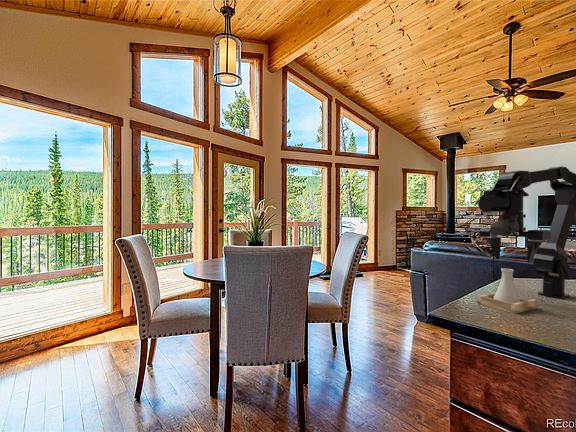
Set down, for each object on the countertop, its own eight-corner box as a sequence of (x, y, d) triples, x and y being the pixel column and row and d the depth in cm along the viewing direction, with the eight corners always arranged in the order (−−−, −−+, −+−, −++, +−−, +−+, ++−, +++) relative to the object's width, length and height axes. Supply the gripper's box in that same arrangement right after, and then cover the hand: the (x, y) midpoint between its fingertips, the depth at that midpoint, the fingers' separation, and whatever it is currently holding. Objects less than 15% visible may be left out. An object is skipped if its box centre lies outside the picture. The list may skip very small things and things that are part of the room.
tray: (499, 299, 105) (499, 291, 105) (537, 308, 96) (537, 299, 95) (477, 303, 100) (477, 295, 100) (514, 313, 91) (514, 304, 90)
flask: (527, 307, 94) (527, 271, 93) (499, 306, 95) (499, 271, 95) (514, 300, 101) (514, 267, 101) (488, 299, 102) (488, 266, 102)
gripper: (468, 212, 109) (468, 259, 109) (532, 212, 93) (532, 268, 93) (488, 211, 114) (488, 256, 115) (552, 211, 98) (552, 263, 98)
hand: (512, 260), depth 105 cm, fingers open, 9 cm apart
